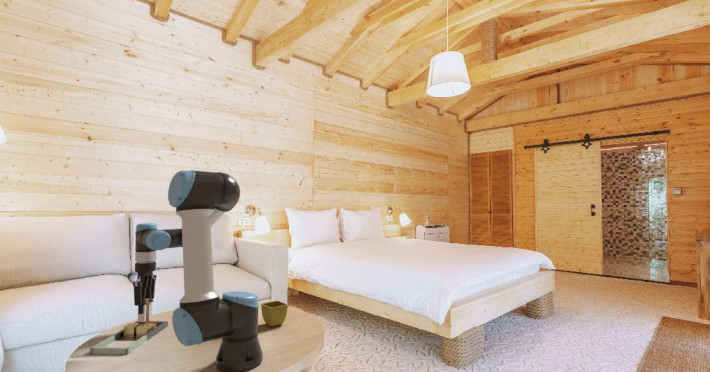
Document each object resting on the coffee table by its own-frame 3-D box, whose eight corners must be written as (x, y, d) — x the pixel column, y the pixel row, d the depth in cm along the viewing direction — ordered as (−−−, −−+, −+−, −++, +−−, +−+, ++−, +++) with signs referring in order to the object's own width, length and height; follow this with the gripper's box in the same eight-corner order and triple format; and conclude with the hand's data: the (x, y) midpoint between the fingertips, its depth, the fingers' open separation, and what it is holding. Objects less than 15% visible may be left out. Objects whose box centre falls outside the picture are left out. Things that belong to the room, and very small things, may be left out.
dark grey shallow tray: (146, 343, 140) (147, 335, 140) (112, 343, 140) (112, 335, 140) (167, 328, 156) (167, 321, 156) (136, 328, 156) (136, 321, 156)
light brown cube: (146, 337, 144) (146, 326, 144) (136, 337, 144) (136, 326, 144) (152, 333, 148) (152, 323, 148) (142, 333, 148) (142, 323, 148)
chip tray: (127, 357, 128) (127, 348, 128) (89, 356, 128) (90, 348, 128) (146, 343, 140) (147, 335, 140) (112, 343, 140) (112, 335, 140)
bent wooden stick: (152, 332, 148) (153, 299, 149) (131, 332, 148) (132, 299, 149) (156, 330, 151) (156, 298, 151) (134, 330, 151) (135, 297, 151)
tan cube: (133, 337, 144) (134, 326, 144) (123, 337, 144) (123, 326, 144) (139, 333, 148) (139, 323, 148) (129, 333, 148) (129, 323, 148)
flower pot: (277, 319, 169) (278, 300, 169) (288, 325, 162) (288, 304, 163) (260, 324, 163) (260, 303, 163) (270, 329, 156) (270, 308, 157)
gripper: (147, 258, 158) (145, 313, 158) (124, 265, 143) (122, 326, 142) (164, 258, 158) (163, 314, 158) (143, 265, 143) (142, 327, 142)
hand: (144, 320), depth 150 cm, fingers closed on bent wooden stick, 3 cm apart
